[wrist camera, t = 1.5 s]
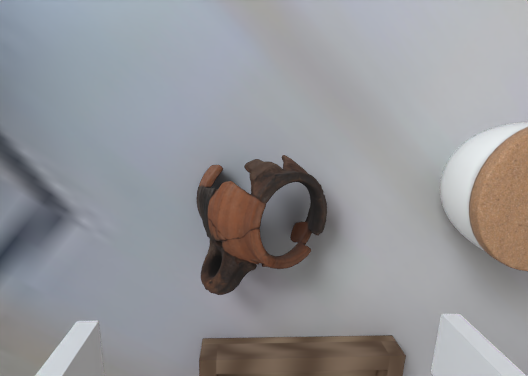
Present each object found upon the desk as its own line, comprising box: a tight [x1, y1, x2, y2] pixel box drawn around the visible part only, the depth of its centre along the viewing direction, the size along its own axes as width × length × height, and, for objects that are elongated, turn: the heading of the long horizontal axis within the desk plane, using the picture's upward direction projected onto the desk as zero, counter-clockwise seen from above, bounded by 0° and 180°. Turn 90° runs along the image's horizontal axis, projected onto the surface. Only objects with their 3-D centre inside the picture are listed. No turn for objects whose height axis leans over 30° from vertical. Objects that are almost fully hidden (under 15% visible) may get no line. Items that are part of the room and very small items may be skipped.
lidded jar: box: [440, 122, 528, 271], centre depth 25 cm, size 11×11×9 cm
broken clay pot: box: [197, 155, 327, 295], centre depth 26 cm, size 12×10×8 cm
